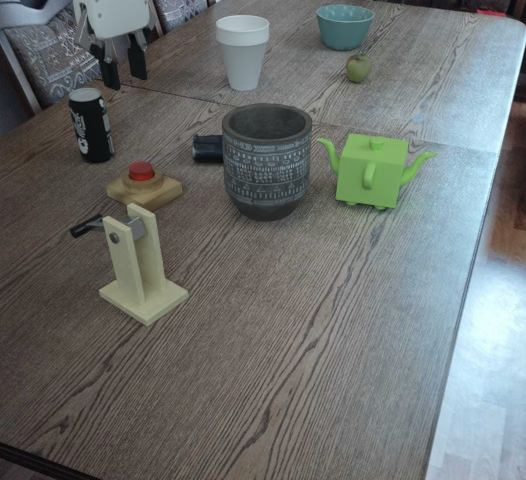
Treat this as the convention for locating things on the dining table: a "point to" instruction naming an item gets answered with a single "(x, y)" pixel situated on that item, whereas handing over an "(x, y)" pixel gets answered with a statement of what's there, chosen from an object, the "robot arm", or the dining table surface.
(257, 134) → the planter
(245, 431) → the dining table surface
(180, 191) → the button block
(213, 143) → the electronic device
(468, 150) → the dining table surface
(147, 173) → the button
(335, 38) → the bowl
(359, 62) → the apple
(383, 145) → the teapot
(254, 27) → the cup
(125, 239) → the switch bracket
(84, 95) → the beverage can
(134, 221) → the switch lever
